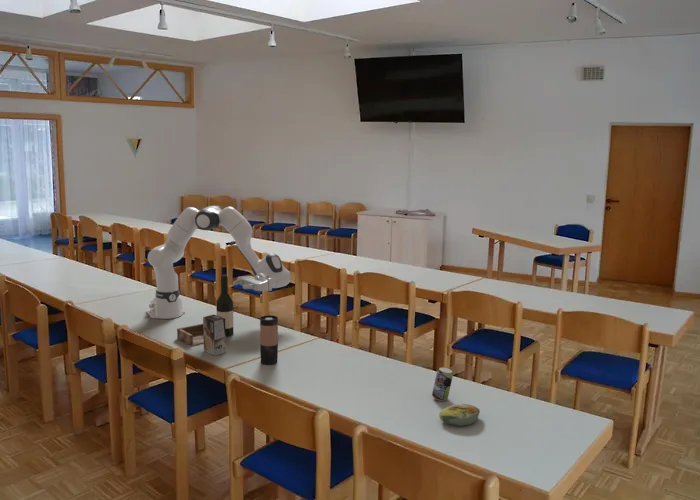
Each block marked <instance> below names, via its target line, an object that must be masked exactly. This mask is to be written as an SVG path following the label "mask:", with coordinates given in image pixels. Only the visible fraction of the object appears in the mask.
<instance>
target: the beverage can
mask: <svg viewBox="0 0 700 500" xmlns="http://www.w3.org/2000/svg"><path fill="white" fill-rule="evenodd" d="M453 376H454V374H453V371H452V370H451V369H450V368H447V367H445V366H444V367H439V369H437V370H436V375H435V377H434V378H435V379H434V383H433V388H432V393H431V395H432V397H433V398H434V400H437V401H441V402H443V401H444V400H445V401H446V400H448V398H449V395H450V389H451V387H452V386H451V385H452V380H453Z"/></svg>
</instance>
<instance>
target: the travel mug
mask: <svg viewBox="0 0 700 500" xmlns="http://www.w3.org/2000/svg"><path fill="white" fill-rule="evenodd" d="M278 321H279V319H278V316H275V315H262V316H260V318H259V350H260V354H259V355H260V363H261V365H264V366H274V365H277V363H278V357H279V356H278V352H279V351H278V349H279V334H278V333H279V325H278V324H279V323H278Z"/></svg>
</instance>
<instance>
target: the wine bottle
mask: <svg viewBox="0 0 700 500" xmlns="http://www.w3.org/2000/svg"><path fill="white" fill-rule="evenodd" d="M228 282H229V277H228V275H227V273H226V274H225V273H223V274H221V276H220V293H219V294H220V295H219V296H218V297H217V299H216V301H215V302H216V304H215V305H216V306H215V307H216V315H217V316H220V317H222V318H225V330H226V338H230V337H231V336H234V332H235V331H234V301H233V299H232V297H231V296H230V294H229V283H228Z"/></svg>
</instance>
